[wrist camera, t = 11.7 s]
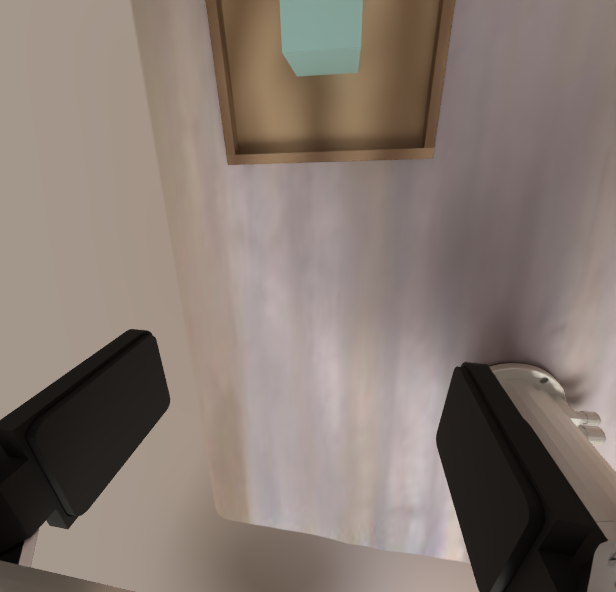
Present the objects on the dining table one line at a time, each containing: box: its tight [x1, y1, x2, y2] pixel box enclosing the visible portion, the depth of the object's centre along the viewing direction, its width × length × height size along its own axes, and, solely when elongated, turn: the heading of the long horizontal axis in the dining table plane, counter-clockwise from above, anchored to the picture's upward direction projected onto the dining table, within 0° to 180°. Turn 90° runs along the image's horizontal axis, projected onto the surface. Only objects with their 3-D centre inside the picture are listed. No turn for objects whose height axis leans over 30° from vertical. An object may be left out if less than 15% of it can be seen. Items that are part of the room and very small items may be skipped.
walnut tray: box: [206, 0, 455, 165], centre depth 22 cm, size 18×18×2 cm
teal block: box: [280, 0, 363, 76], centre depth 20 cm, size 5×5×6 cm
